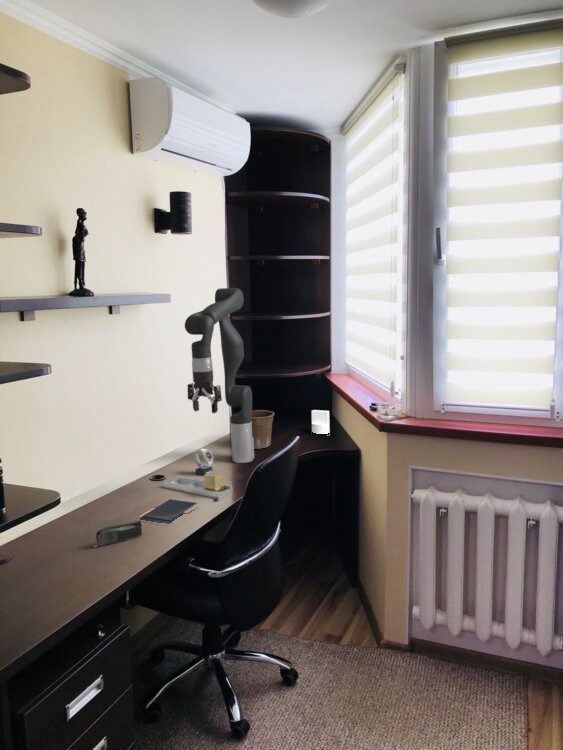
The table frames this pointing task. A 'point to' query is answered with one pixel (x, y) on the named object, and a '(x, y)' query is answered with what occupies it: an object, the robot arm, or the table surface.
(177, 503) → the dark blue notebook
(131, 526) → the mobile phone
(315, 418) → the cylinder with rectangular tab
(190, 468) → the table surface
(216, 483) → the tan block
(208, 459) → the watch
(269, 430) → the plant pot
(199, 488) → the tray with compartments
